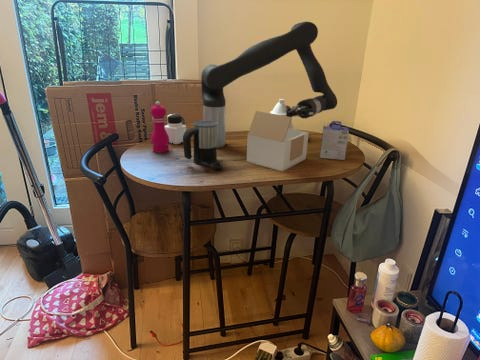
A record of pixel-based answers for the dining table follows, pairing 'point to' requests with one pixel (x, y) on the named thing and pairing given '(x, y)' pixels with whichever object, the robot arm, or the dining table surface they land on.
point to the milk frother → (202, 143)
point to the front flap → (270, 126)
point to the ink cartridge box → (334, 141)
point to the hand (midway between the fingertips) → (288, 114)
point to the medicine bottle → (175, 128)
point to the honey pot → (281, 110)
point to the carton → (278, 150)
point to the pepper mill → (159, 129)
